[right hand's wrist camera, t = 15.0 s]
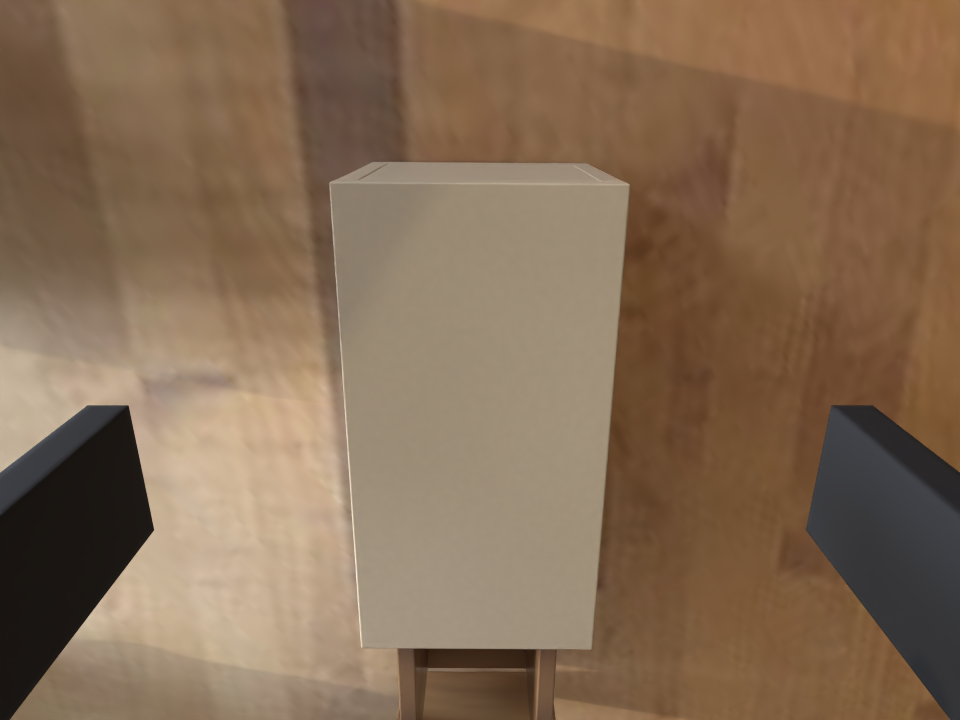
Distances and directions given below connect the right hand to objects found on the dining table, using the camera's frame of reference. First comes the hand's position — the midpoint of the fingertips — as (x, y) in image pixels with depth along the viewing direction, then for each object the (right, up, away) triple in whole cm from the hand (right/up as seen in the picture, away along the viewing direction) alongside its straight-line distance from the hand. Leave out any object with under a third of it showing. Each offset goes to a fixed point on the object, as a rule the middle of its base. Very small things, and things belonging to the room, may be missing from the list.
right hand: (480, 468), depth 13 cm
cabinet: (0, +2, +21) cm, 21 cm away
